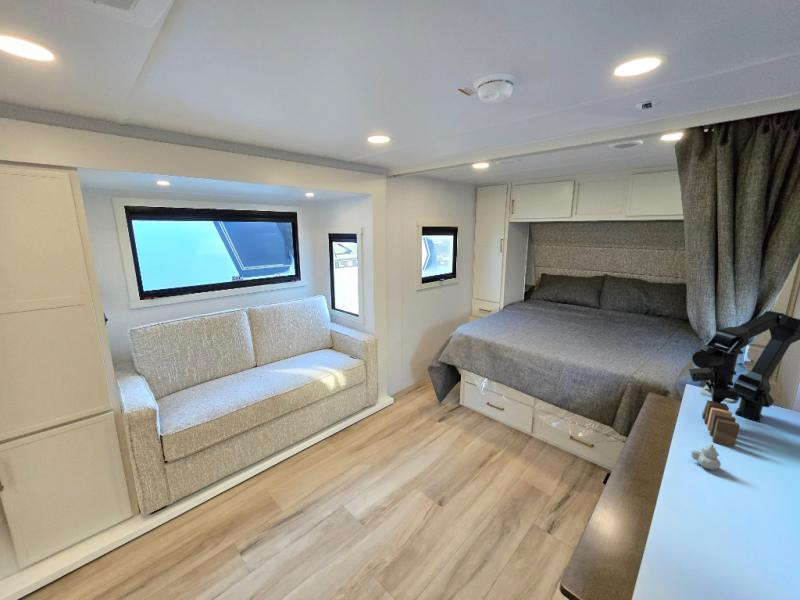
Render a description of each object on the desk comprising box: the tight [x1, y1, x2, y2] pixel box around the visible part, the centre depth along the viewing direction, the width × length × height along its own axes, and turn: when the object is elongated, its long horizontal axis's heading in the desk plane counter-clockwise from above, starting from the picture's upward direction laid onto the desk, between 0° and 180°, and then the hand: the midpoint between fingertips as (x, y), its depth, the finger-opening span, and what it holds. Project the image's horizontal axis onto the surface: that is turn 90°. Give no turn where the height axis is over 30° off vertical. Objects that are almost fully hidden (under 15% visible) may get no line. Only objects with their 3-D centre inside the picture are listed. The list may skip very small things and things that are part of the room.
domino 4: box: [708, 413, 737, 437], centre depth 109 cm, size 2×5×8 cm, turn 57°
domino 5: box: [711, 419, 741, 448], centre depth 106 cm, size 2×5×8 cm, turn 57°
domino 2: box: [703, 402, 730, 425], centre depth 116 cm, size 2×5×8 cm, turn 57°
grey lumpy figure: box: [690, 443, 721, 471], centre depth 96 cm, size 5×7×8 cm
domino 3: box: [706, 407, 733, 431], centre depth 112 cm, size 2×5×8 cm, turn 57°
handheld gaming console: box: [699, 384, 736, 403], centre depth 138 cm, size 10×2×15 cm
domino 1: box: [701, 399, 728, 420], centre depth 118 cm, size 2×5×8 cm, turn 57°
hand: (714, 405), depth 118 cm, fingers closed
